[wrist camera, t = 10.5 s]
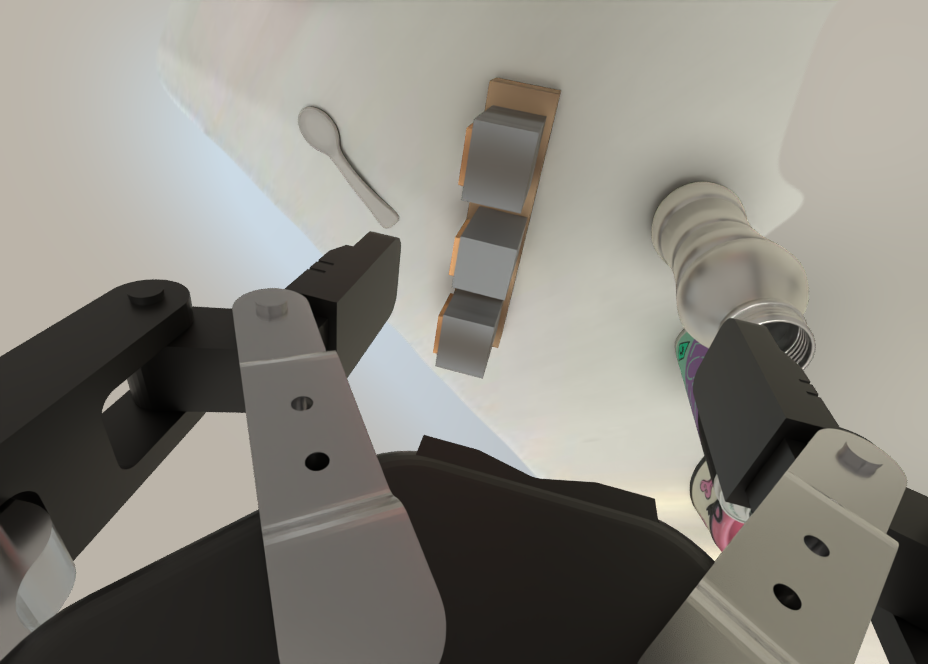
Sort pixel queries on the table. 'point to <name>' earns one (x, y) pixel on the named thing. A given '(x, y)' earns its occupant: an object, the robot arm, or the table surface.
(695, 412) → the spray can
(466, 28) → the table surface
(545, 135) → the rail
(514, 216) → the grey block
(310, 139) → the spoon
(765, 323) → the plastic bottle
